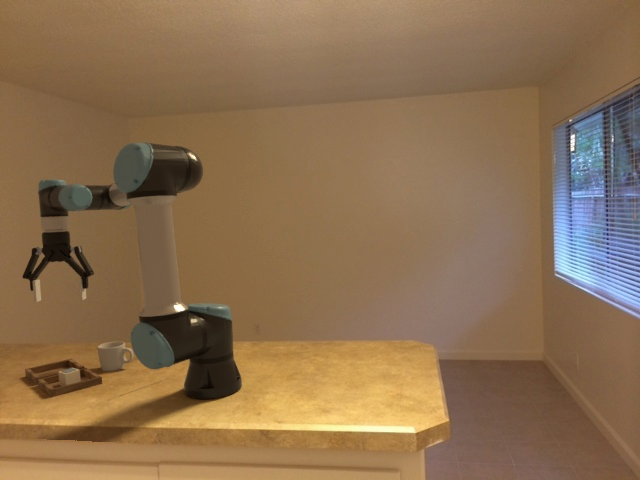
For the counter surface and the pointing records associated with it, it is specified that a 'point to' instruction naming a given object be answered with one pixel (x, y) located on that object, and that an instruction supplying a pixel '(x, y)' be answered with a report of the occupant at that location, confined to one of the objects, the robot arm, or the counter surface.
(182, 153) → the robot arm
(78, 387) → the tray
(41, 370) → the tray
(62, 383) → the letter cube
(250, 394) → the counter surface
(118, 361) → the cup
